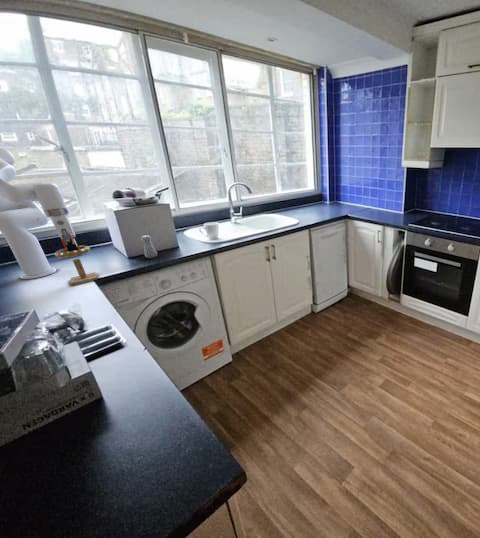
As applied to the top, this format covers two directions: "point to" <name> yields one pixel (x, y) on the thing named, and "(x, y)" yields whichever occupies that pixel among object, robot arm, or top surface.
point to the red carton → (65, 244)
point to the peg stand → (82, 274)
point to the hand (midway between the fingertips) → (73, 251)
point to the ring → (72, 252)
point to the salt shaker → (148, 247)
